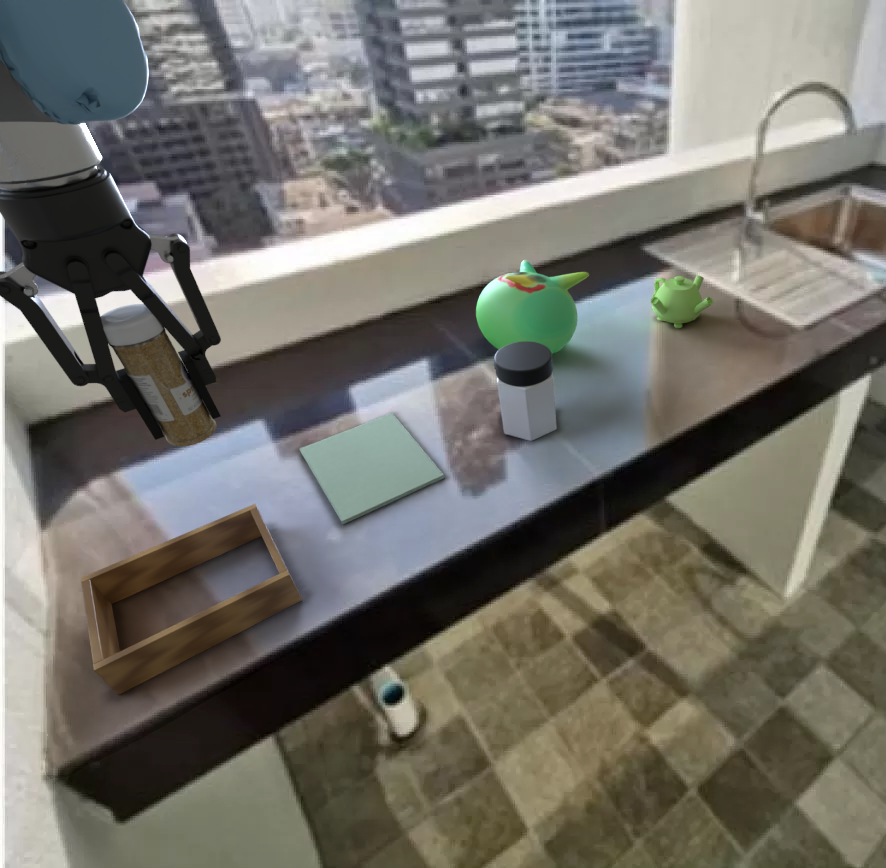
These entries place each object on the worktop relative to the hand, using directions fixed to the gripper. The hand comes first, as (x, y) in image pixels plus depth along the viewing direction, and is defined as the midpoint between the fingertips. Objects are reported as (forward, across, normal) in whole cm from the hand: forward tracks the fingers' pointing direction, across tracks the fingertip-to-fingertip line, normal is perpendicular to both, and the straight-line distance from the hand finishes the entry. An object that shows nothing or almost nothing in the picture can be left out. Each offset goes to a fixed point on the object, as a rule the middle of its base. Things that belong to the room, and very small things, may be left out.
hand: (185, 420), depth 60 cm
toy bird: (+21, -52, -19) cm, 59 cm away
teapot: (+21, -80, -10) cm, 83 cm away
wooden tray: (+20, +7, +3) cm, 22 cm away
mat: (+20, -17, -7) cm, 27 cm away
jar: (+21, -39, -1) cm, 44 cm away
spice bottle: (+2, 0, 0) cm, 2 cm away
